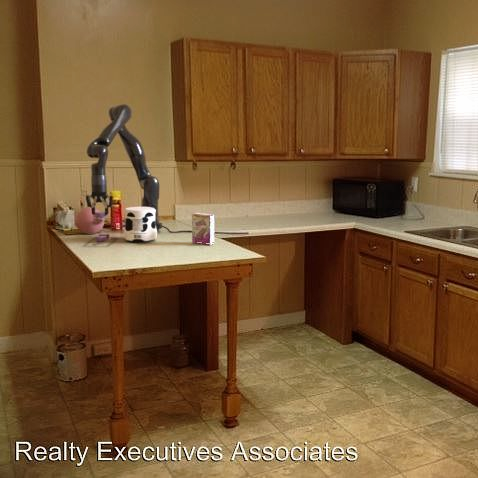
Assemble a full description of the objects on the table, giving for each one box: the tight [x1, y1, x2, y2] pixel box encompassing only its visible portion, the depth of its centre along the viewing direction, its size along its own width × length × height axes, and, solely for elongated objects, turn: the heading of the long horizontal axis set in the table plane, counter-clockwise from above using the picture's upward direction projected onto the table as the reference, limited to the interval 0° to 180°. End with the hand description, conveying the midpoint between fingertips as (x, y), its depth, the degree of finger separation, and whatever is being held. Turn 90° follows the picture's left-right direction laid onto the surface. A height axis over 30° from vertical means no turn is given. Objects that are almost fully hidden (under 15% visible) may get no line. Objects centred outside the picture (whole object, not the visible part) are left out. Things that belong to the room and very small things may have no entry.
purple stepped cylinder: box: [95, 211, 107, 218], centre depth 319 cm, size 6×6×3 cm
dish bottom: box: [94, 235, 107, 243], centre depth 322 cm, size 6×6×3 cm
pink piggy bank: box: [74, 206, 105, 235], centre depth 340 cm, size 15×20×15 cm
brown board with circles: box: [90, 237, 112, 247], centre depth 322 cm, size 12×22×1 cm, turn 5°
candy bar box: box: [191, 212, 215, 246], centre depth 325 cm, size 11×5×16 cm, turn 71°
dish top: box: [98, 232, 111, 239], centre depth 329 cm, size 6×6×3 cm
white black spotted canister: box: [123, 206, 158, 244], centre depth 326 cm, size 17×17×18 cm
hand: (100, 214), depth 319 cm, fingers closed on purple stepped cylinder, 5 cm apart
